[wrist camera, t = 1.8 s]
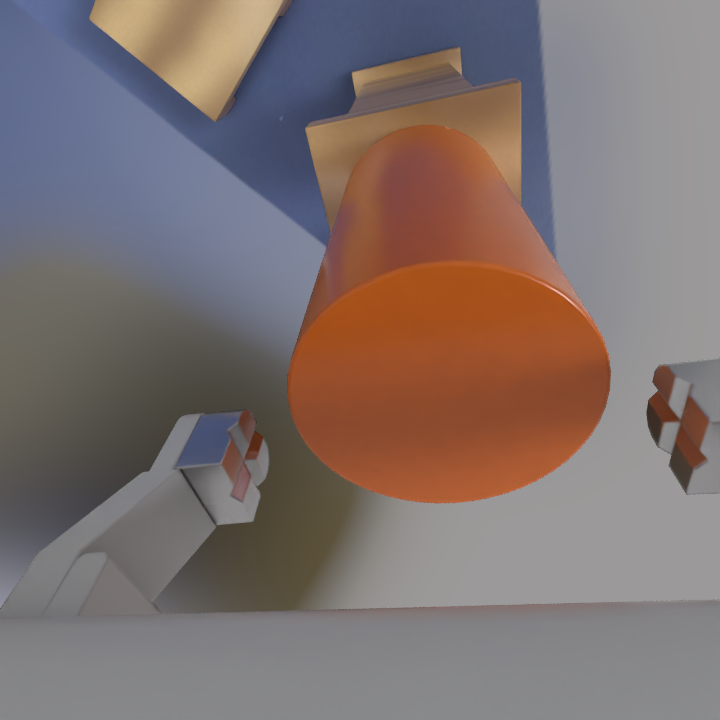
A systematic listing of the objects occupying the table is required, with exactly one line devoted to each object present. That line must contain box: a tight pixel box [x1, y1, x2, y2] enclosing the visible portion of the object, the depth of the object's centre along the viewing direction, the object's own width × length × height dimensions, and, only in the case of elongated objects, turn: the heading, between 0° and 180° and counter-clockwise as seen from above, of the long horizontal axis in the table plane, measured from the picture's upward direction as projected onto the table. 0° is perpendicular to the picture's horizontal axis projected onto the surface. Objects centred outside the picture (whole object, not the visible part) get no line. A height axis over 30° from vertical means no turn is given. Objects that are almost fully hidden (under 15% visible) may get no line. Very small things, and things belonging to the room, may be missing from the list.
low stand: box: [89, 0, 293, 122], centre depth 32 cm, size 10×10×3 cm
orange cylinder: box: [287, 125, 611, 503], centre depth 14 cm, size 7×7×12 cm
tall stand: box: [305, 47, 521, 232], centre depth 28 cm, size 8×8×22 cm
